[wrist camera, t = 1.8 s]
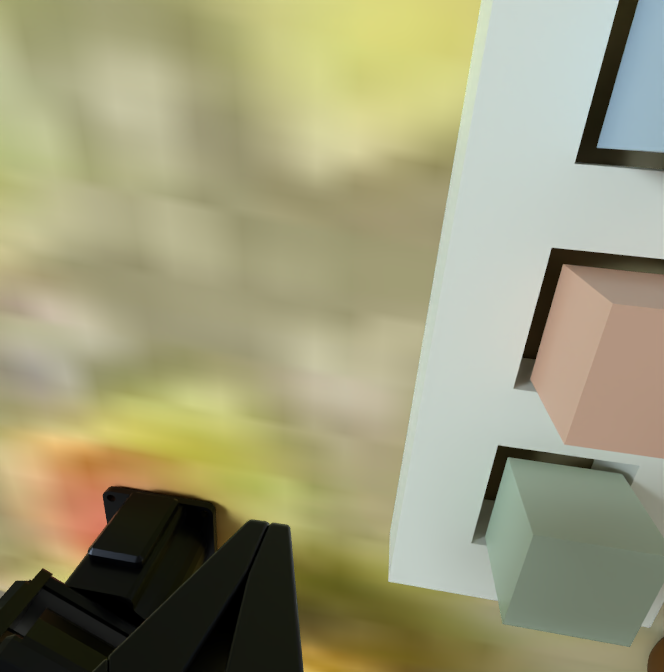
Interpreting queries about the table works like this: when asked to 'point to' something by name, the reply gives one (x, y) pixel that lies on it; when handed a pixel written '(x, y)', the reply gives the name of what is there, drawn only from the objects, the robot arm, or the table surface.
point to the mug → (657, 658)
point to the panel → (512, 282)
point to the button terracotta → (605, 360)
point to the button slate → (639, 86)
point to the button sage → (573, 552)
